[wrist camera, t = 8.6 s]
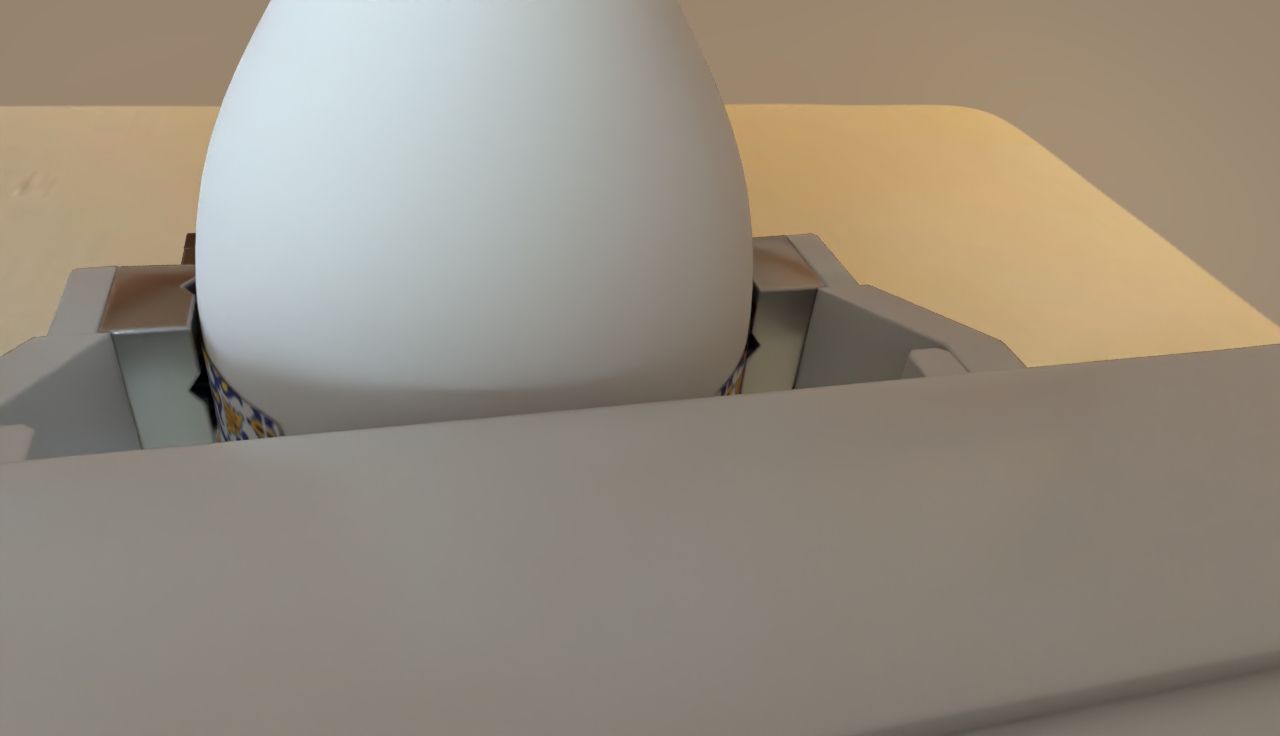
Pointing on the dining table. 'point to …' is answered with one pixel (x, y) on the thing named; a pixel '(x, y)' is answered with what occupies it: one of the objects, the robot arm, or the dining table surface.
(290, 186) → the bath foam
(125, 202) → the dining table surface
